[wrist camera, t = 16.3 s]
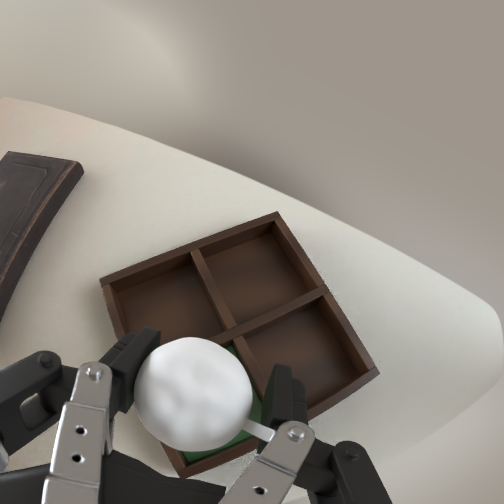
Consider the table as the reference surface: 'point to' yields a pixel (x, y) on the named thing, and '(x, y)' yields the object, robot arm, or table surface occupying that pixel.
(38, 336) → the table surface
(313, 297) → the grid
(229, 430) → the milkshake
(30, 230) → the hardcover book
